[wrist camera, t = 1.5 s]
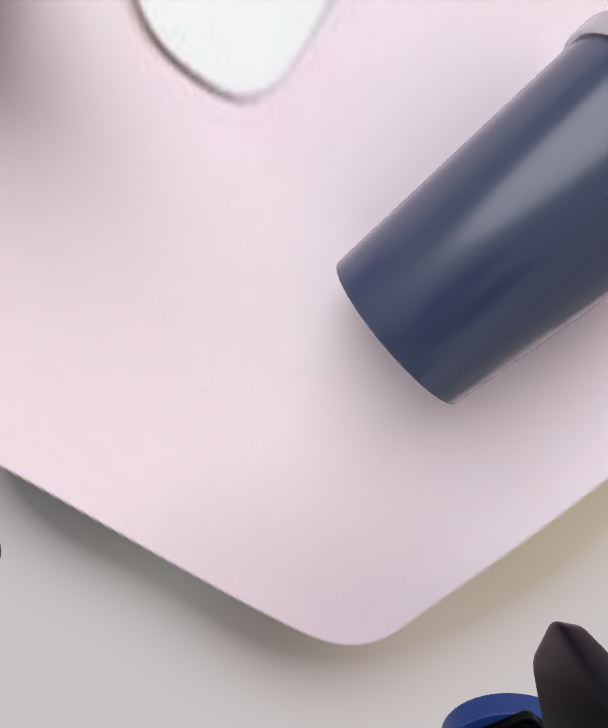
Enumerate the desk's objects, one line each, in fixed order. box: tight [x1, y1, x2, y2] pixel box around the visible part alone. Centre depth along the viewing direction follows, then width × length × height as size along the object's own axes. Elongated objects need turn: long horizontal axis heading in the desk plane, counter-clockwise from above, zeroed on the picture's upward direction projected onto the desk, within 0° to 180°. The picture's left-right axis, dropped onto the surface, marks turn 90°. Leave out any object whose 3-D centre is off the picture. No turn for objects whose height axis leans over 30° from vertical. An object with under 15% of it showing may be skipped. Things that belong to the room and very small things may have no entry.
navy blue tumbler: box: [336, 11, 608, 404], centre depth 14 cm, size 6×6×9 cm
